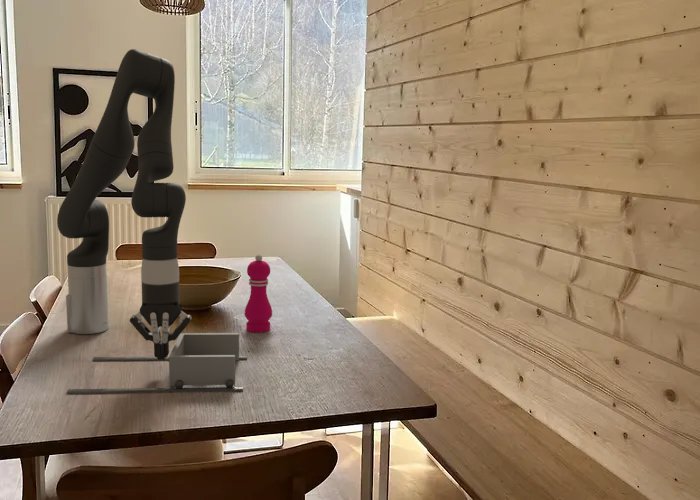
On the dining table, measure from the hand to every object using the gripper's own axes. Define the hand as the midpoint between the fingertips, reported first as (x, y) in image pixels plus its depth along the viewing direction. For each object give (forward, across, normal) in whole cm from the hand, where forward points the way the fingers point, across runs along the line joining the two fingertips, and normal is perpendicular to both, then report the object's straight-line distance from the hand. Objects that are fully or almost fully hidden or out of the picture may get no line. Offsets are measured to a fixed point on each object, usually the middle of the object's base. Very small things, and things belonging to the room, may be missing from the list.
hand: (161, 358), depth 142 cm
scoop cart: (+3, +10, 0) cm, 10 cm away
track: (+3, 0, 0) cm, 3 cm away
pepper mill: (+4, +20, +33) cm, 38 cm away
